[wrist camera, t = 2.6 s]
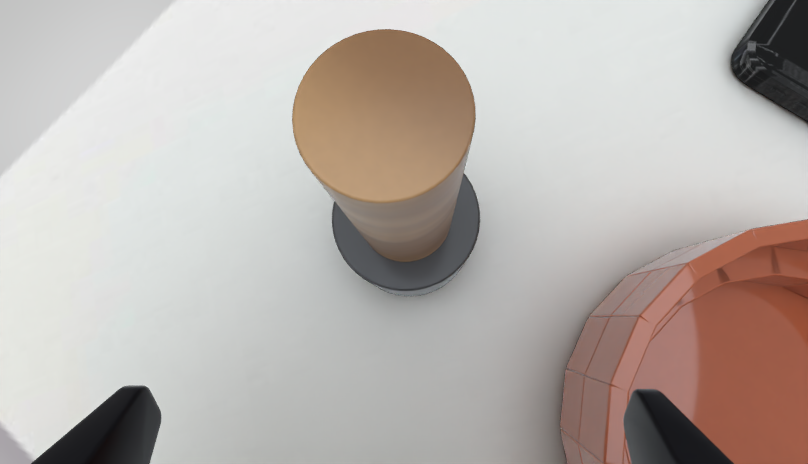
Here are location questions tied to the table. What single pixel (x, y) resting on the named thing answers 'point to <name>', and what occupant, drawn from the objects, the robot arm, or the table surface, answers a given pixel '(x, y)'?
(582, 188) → the table surface
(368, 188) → the wooden peg on base
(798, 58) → the phone
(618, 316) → the bowl
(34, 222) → the table surface
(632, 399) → the robot arm
